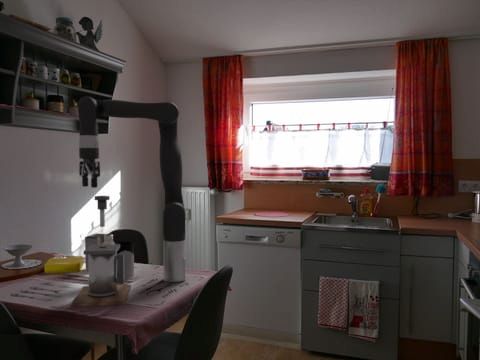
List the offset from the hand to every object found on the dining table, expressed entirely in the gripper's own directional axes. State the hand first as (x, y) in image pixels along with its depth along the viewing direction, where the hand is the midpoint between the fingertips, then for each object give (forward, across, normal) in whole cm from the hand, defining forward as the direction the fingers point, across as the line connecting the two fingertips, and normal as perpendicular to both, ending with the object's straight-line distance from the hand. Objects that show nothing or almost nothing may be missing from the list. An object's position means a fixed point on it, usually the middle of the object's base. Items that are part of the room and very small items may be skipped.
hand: (89, 186), depth 165 cm
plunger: (+13, -19, +4) cm, 23 cm away
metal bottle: (+40, -3, -6) cm, 41 cm away
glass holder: (+40, +1, -16) cm, 43 cm away
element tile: (+41, +30, -1) cm, 51 cm away
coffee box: (+40, +19, -11) cm, 46 cm away
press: (+39, -19, +3) cm, 43 cm away
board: (+40, -18, +4) cm, 44 cm away
